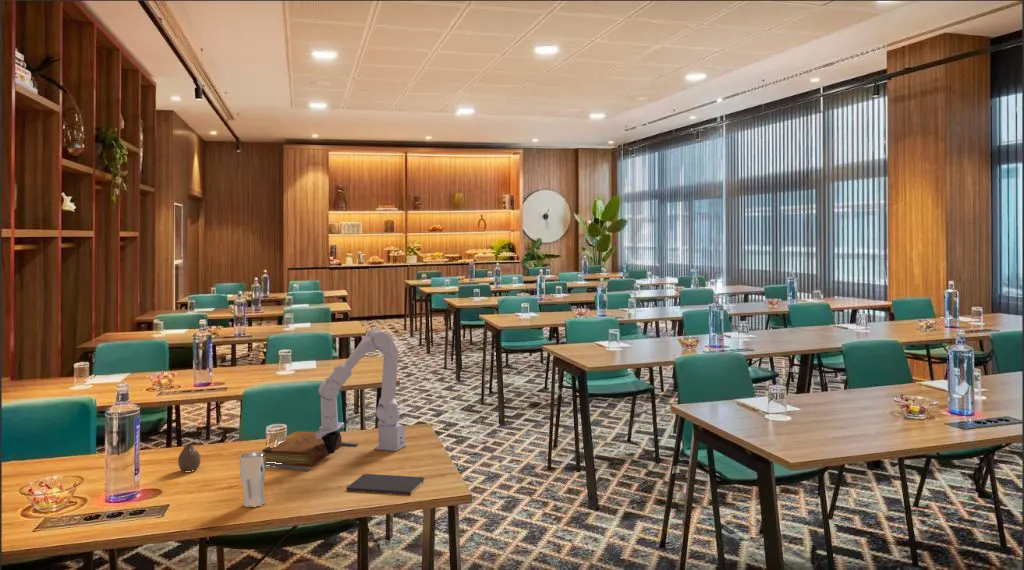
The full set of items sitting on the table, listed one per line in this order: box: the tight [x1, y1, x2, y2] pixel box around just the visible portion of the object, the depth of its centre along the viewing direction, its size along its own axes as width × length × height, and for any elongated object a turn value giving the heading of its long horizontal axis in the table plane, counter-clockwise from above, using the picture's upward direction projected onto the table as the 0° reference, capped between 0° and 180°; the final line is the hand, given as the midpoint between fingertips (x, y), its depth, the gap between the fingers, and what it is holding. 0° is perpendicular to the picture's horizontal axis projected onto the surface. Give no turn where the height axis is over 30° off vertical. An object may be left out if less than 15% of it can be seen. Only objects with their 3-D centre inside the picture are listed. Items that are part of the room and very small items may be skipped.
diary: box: [261, 431, 343, 468], centre depth 250 cm, size 23×19×6 cm
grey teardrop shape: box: [177, 444, 201, 472], centre depth 236 cm, size 7×7×9 cm
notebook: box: [345, 473, 425, 496], centre depth 217 cm, size 13×2×21 cm
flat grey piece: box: [264, 441, 359, 472], centre depth 251 cm, size 27×30×1 cm
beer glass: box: [239, 450, 266, 507], centre depth 204 cm, size 7×7×15 cm
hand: (331, 452), depth 247 cm, fingers closed
